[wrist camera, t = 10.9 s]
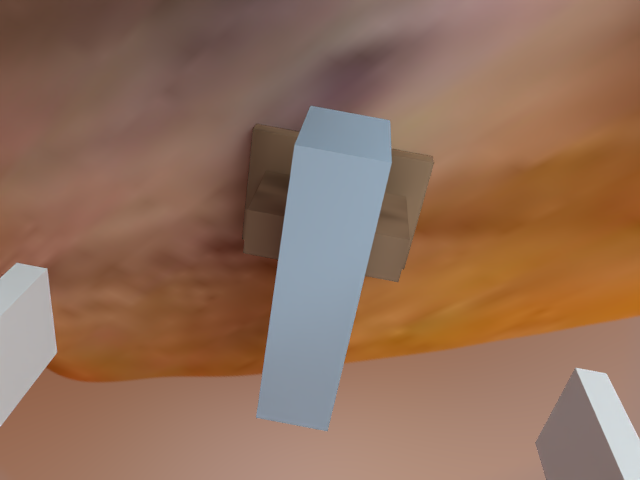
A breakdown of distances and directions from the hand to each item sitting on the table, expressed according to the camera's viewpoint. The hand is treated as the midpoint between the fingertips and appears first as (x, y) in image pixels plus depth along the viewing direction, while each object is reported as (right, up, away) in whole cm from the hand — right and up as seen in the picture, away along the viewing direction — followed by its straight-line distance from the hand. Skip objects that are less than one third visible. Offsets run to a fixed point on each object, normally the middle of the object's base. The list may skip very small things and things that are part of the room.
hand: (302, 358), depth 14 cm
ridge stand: (+1, +6, +18) cm, 19 cm away
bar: (+1, +2, +13) cm, 14 cm away
